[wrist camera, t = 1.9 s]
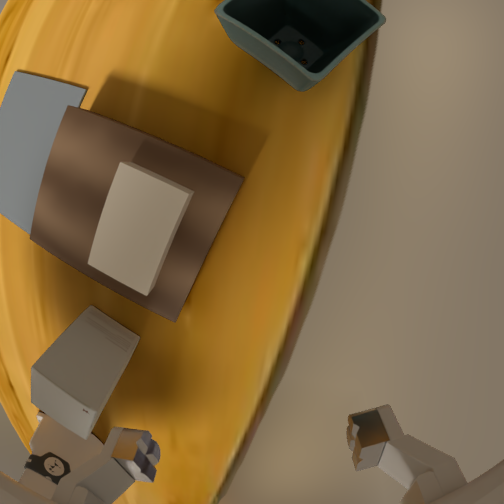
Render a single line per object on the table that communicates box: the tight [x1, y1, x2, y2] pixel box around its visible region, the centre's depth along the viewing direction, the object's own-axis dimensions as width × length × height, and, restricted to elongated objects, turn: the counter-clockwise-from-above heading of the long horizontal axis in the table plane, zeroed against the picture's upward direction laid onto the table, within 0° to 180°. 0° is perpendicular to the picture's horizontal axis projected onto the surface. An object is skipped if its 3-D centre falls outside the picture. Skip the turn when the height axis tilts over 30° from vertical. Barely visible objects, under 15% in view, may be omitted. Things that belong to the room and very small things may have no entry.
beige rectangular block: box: [88, 162, 194, 296], centre depth 21 cm, size 9×6×2 cm, turn 153°
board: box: [30, 105, 245, 322], centre depth 24 cm, size 14×18×4 cm
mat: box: [0, 71, 87, 234], centre depth 23 cm, size 18×15×1 cm
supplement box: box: [31, 305, 140, 440], centre depth 24 cm, size 7×7×13 cm
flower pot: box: [214, 0, 386, 91], centre depth 17 cm, size 9×9×9 cm
